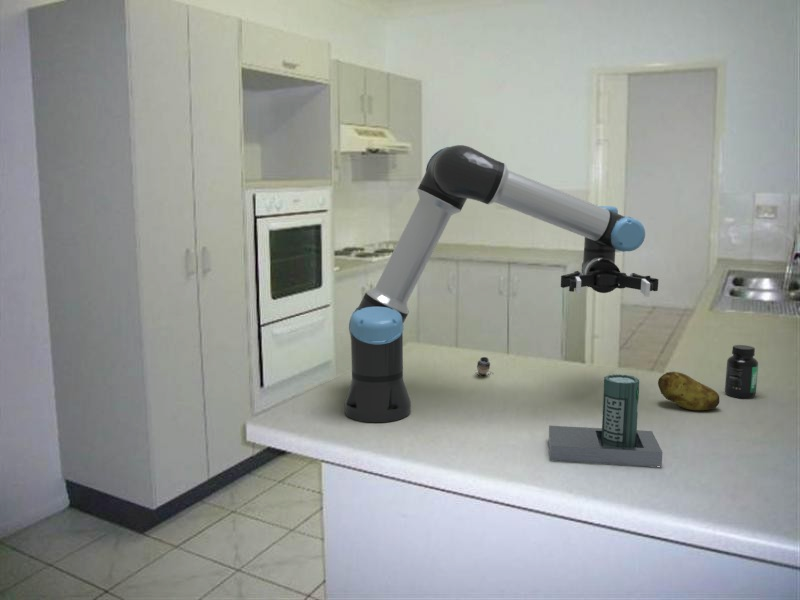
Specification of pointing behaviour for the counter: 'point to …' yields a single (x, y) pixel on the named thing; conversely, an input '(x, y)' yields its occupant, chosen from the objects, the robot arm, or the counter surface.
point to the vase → (483, 366)
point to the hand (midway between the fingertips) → (613, 288)
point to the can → (620, 411)
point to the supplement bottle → (741, 373)
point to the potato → (687, 392)
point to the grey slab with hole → (601, 447)
